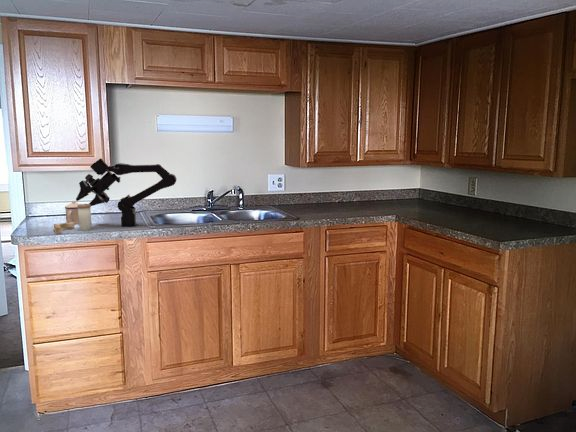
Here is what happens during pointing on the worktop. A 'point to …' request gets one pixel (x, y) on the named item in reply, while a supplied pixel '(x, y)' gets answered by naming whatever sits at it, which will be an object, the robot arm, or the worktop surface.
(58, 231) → the stand
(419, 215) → the worktop surface
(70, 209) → the beige lidded jar
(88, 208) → the tea canister
